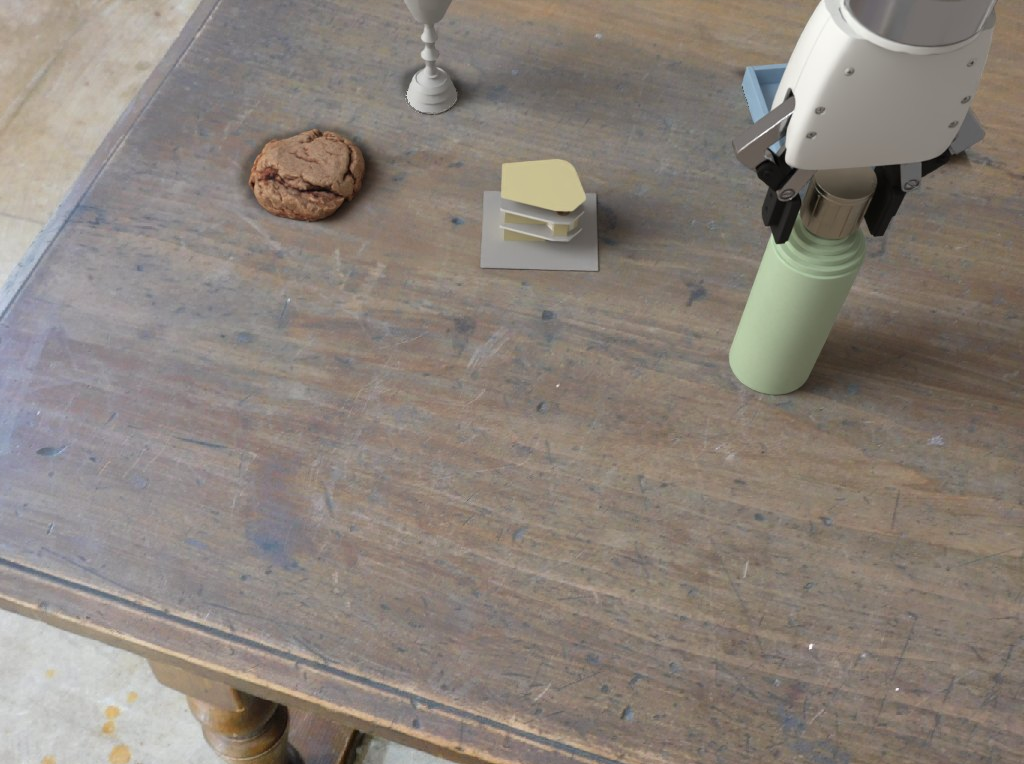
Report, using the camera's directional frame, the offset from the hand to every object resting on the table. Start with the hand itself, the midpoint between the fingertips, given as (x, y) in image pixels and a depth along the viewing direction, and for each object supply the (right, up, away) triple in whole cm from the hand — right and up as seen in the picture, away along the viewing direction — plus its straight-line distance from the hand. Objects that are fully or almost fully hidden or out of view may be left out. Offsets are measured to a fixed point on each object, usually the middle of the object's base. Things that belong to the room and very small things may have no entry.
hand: (823, 222), depth 72 cm
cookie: (-37, +9, +26) cm, 46 cm away
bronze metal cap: (0, 0, 0) cm, 1 cm away
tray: (+12, +15, +27) cm, 33 cm away
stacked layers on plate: (-17, +4, +22) cm, 28 cm away
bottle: (+1, -8, +14) cm, 16 cm away
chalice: (-26, +19, +31) cm, 45 cm away
